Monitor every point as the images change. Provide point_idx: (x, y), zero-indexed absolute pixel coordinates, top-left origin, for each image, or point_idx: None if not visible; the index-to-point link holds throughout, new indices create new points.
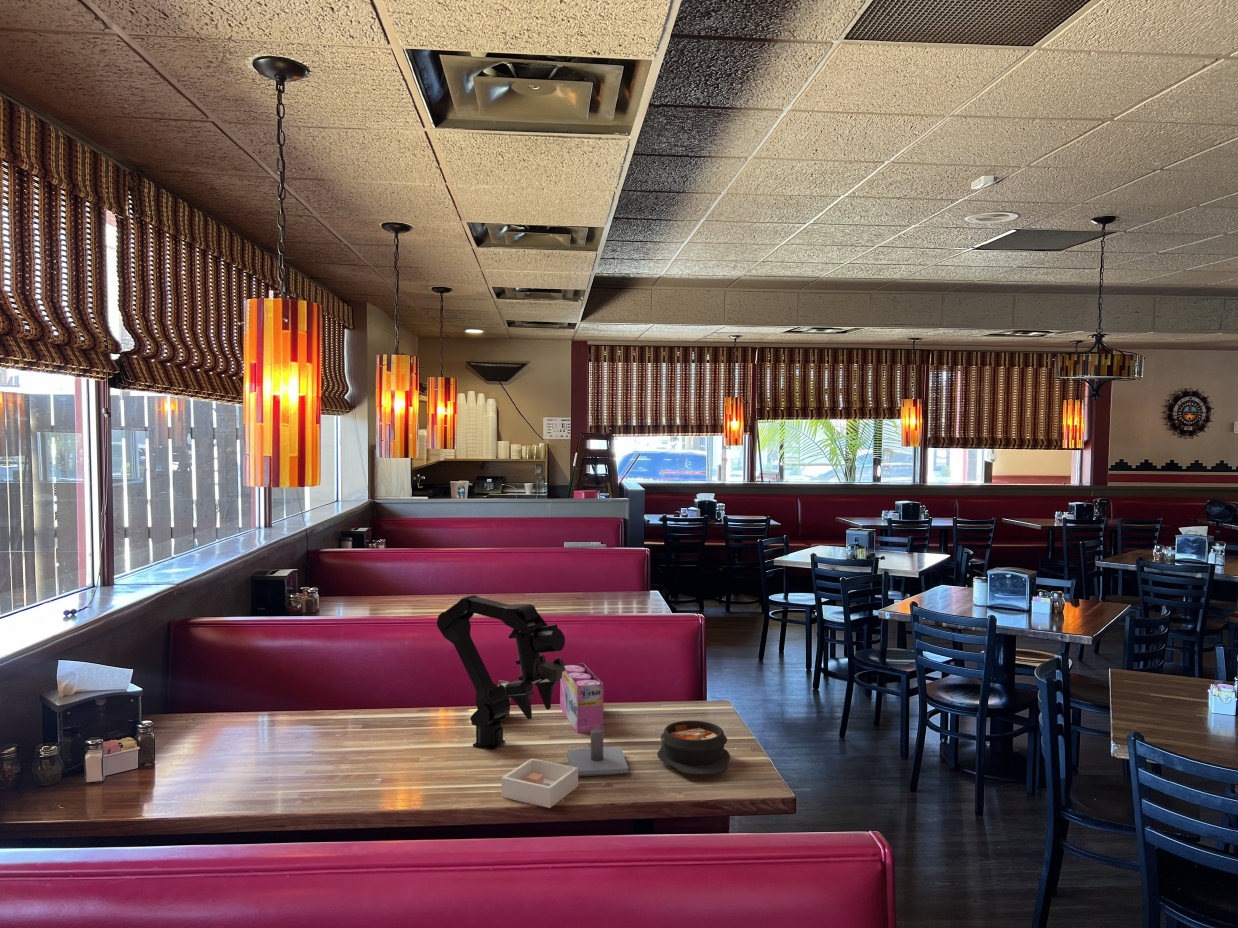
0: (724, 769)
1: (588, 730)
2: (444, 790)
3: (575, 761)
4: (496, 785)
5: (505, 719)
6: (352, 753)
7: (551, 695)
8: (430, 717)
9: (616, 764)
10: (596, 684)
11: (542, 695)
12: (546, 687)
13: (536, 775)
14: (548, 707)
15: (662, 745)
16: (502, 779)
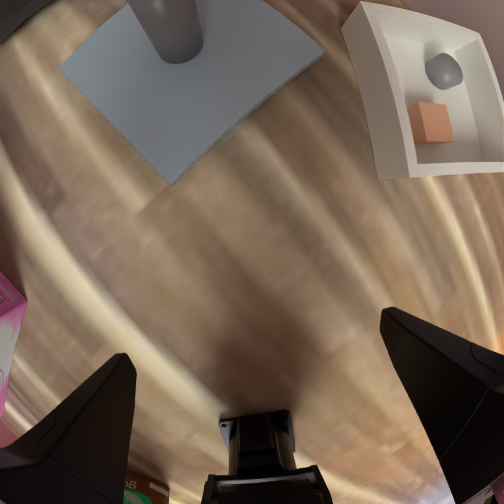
0: None
1: (4, 279)
2: (499, 299)
3: (248, 82)
4: (458, 225)
5: (127, 475)
6: (406, 494)
7: (62, 410)
8: None
9: None
10: None
11: (118, 462)
12: (69, 492)
13: (431, 119)
14: (126, 365)
15: (20, 21)
16: None
